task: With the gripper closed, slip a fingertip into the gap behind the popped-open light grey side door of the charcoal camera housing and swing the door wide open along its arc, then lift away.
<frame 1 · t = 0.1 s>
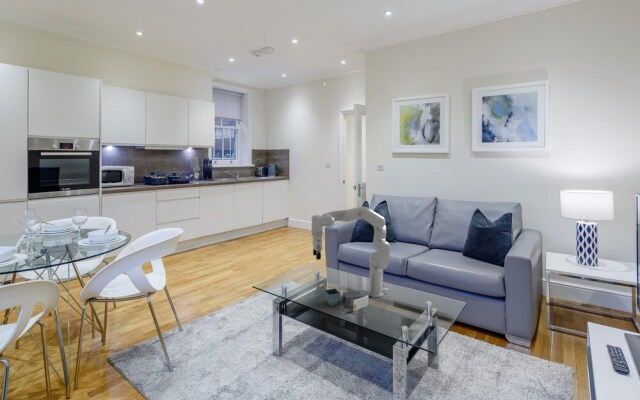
hand: (316, 257, 242), 31 cm above the table, fingers open, 9 cm apart
camera housing: (355, 303, 241), on the table
flower pot: (332, 304, 240), on the table
side door: (361, 303, 233), point 4 cm above the table, hinge at 25.0°
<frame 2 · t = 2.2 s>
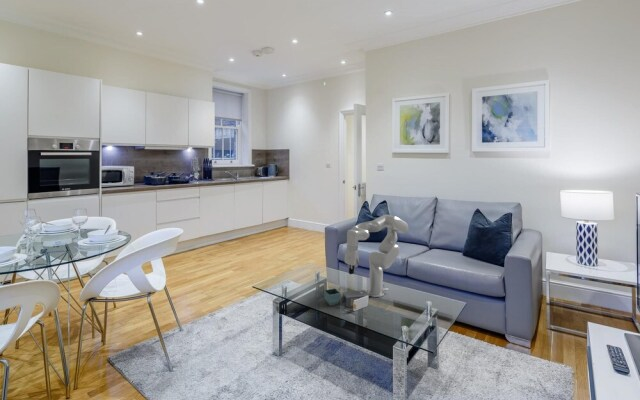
hand: (351, 273, 239), 21 cm above the table, fingers closed
nothing on the table moved.
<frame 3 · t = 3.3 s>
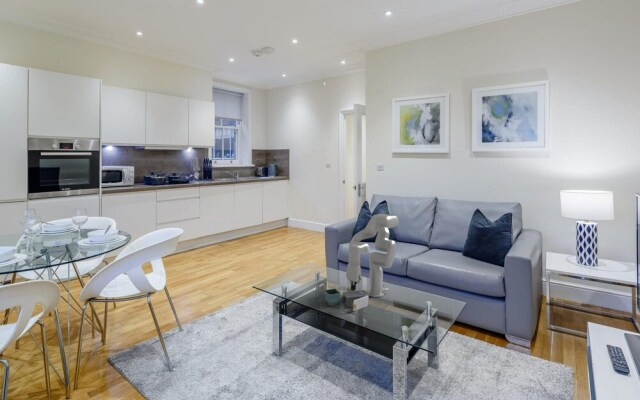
hand: (353, 289, 231), 13 cm above the table, fingers closed
nothing on the table moved.
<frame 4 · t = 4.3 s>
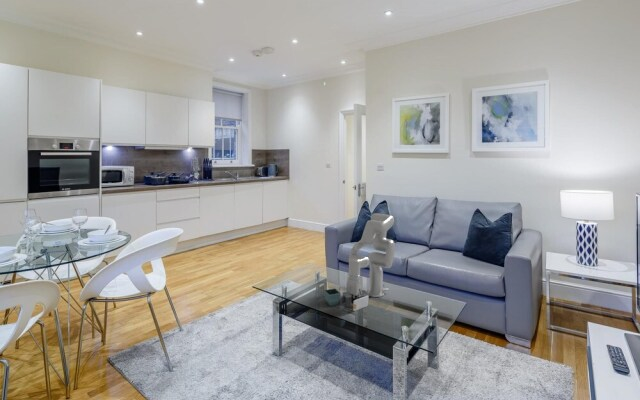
hand: (353, 302, 232), 4 cm above the table, fingers closed
side door: (361, 303, 233), point 4 cm above the table, hinge at 25.0°, touching gripper
everything else where it was.
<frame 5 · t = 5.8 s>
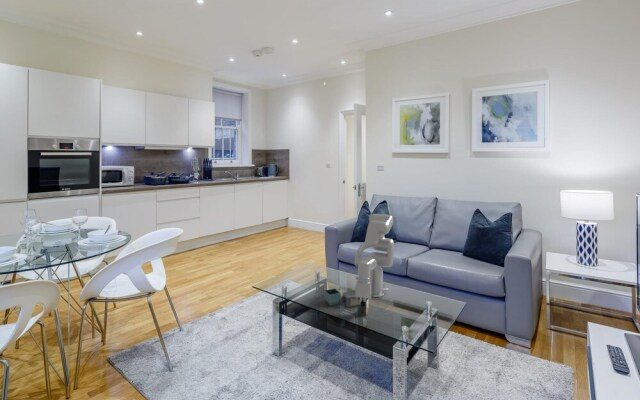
hand: (362, 306, 227), 4 cm above the table, fingers closed
side door: (368, 304, 230), point 4 cm above the table, hinge at 64.8°, touching gripper
everything else where it was.
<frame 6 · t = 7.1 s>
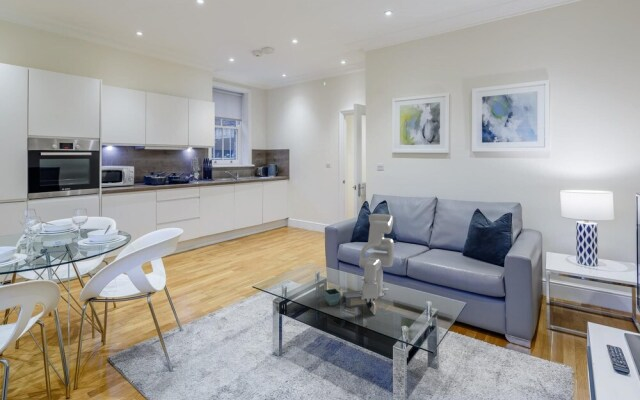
hand: (369, 307, 226), 4 cm above the table, fingers closed
side door: (372, 304, 231), point 4 cm above the table, hinge at 86.6°
everything else where it was.
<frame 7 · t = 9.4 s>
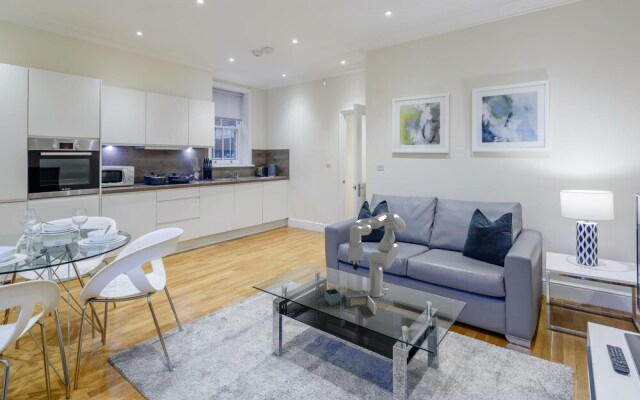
hand: (355, 269, 237), 25 cm above the table, fingers closed
nothing on the table moved.
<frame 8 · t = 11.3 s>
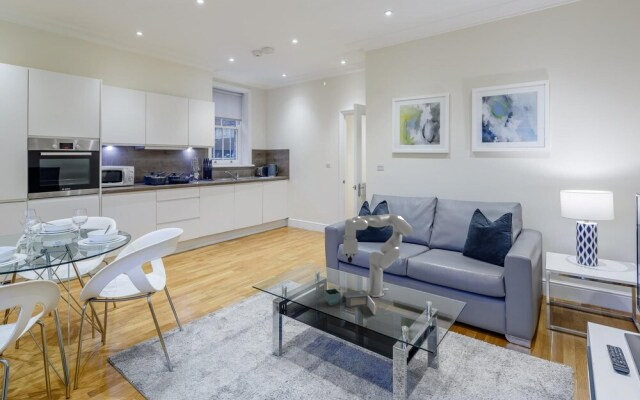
hand: (349, 262, 244), 27 cm above the table, fingers closed
nothing on the table moved.
at the end: side door at +87° (first picture: +25°) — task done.
